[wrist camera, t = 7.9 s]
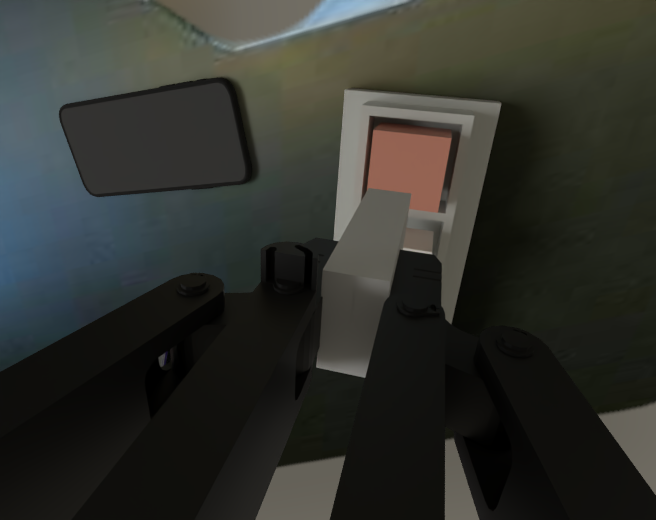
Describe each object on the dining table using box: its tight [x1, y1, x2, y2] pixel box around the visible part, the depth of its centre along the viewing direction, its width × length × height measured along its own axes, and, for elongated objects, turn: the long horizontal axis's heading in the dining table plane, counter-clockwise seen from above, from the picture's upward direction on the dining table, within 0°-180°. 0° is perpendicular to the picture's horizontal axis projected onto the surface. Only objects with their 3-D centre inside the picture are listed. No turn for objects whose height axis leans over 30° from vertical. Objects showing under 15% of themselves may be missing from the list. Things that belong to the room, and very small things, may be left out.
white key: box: [403, 228, 434, 254], centre depth 25 cm, size 4×4×3 cm
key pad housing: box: [334, 88, 501, 324], centre depth 29 cm, size 18×9×4 cm, turn 176°
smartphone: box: [59, 78, 252, 197], centre depth 32 cm, size 7×1×15 cm
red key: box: [367, 122, 452, 213], centre depth 24 cm, size 4×4×3 cm
